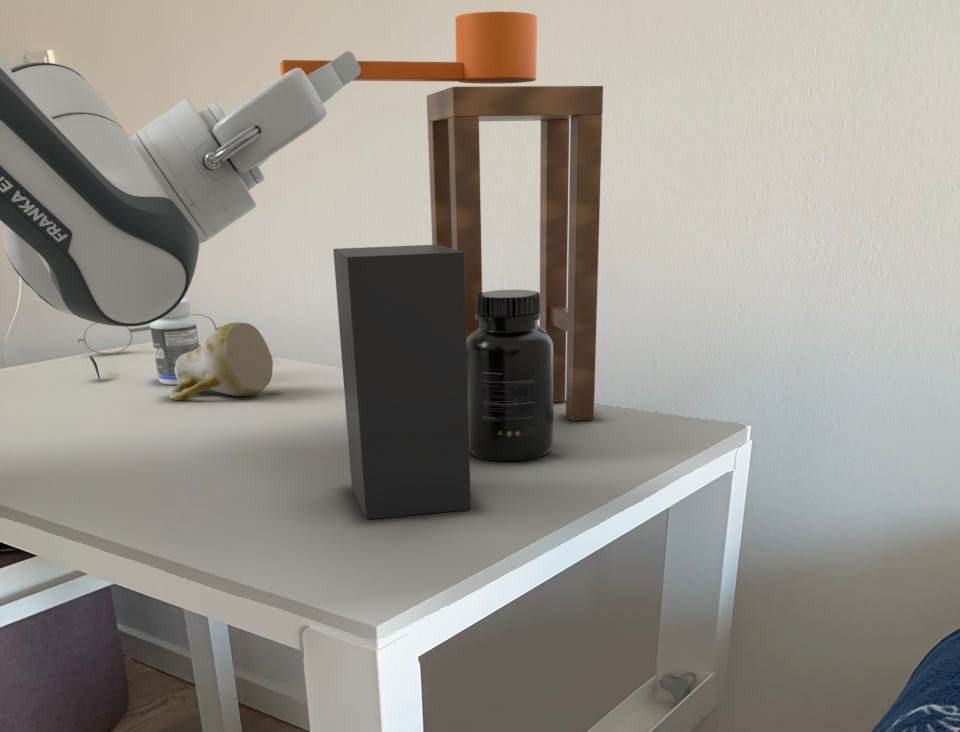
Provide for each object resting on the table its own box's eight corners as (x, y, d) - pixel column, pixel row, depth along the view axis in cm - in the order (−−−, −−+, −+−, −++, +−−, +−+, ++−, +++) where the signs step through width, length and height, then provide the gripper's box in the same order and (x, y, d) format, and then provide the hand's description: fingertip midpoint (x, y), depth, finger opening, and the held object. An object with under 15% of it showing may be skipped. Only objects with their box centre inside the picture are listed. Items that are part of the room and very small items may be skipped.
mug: (197, 385, 108) (234, 301, 104) (258, 435, 105) (298, 350, 101) (145, 380, 101) (181, 289, 97) (208, 433, 98) (248, 342, 94)
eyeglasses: (223, 343, 132) (219, 311, 130) (259, 369, 117) (255, 334, 115) (79, 355, 125) (73, 322, 124) (97, 385, 110) (91, 348, 108)
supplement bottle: (469, 441, 83) (465, 288, 78) (551, 439, 83) (553, 286, 77) (465, 463, 77) (460, 299, 72) (554, 462, 76) (556, 297, 71)
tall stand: (462, 430, 86) (452, 86, 75) (438, 406, 95) (426, 95, 84) (594, 419, 89) (603, 85, 78) (558, 397, 98) (562, 94, 86)
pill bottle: (156, 379, 110) (143, 299, 107) (199, 375, 112) (188, 296, 108) (161, 386, 106) (149, 304, 103) (206, 382, 108) (195, 301, 104)
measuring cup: (286, 75, 74) (280, 5, 72) (279, 82, 79) (273, 17, 77) (546, 78, 78) (547, 12, 77) (522, 84, 84) (522, 22, 82)
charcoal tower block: (366, 520, 65) (347, 256, 58) (351, 489, 71) (333, 248, 64) (471, 509, 66) (464, 252, 60) (448, 481, 73) (439, 244, 66)
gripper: (176, 120, 67) (346, 2, 67) (180, 130, 85) (315, 37, 85) (234, 208, 70) (397, 95, 70) (226, 199, 88) (356, 109, 88)
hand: (352, 63), depth 77 cm, fingers closed on measuring cup, 2 cm apart
